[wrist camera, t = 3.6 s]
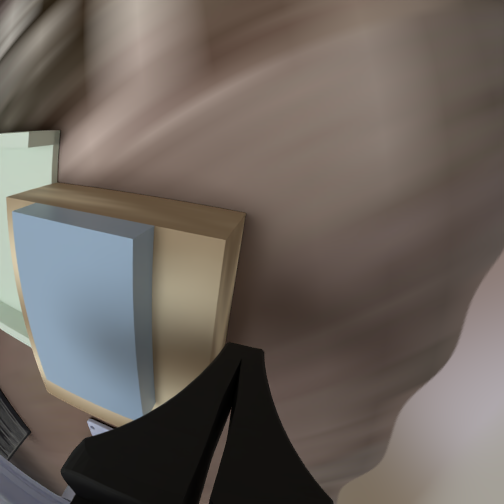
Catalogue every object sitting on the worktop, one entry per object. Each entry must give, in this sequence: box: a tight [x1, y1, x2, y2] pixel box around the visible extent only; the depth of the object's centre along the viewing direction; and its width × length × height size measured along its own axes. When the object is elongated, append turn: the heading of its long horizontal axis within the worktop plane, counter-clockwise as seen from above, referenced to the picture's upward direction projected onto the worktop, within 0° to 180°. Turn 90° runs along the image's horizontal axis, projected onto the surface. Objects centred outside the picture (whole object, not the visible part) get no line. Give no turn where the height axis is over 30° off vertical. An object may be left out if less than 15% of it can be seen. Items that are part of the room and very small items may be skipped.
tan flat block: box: [6, 183, 246, 427], centre depth 14 cm, size 13×11×4 cm
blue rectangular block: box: [12, 203, 156, 420], centre depth 11 cm, size 9×6×2 cm, turn 170°
